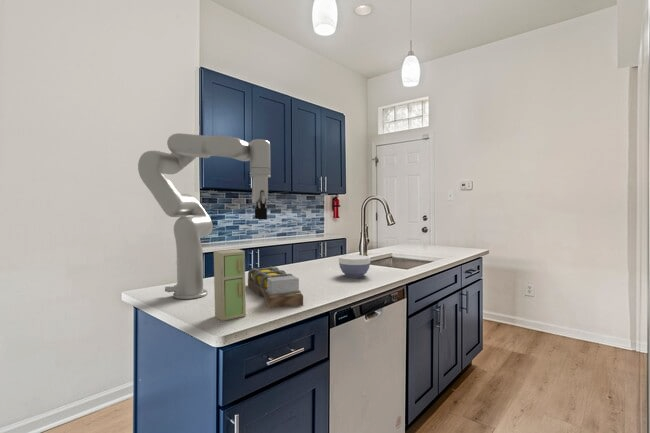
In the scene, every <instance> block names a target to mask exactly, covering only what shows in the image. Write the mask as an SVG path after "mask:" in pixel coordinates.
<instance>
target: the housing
mask: <svg viewBox="0 0 650 433" xmlns="http://www.w3.org/2000/svg"><path fill="white" fill-rule="evenodd" d="M299 280H300V278H299V277H297V276H296V275H293V276H282V277H271V278H267V290H266V292H267V293H268V294H269V295H271V296H273V295H282V294H291V293H299V292H301V290H300V285H299V283H300V281H299ZM301 293H302V292H301Z"/></svg>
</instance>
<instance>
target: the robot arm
mask: <svg viewBox="0 0 650 433" xmlns="http://www.w3.org/2000/svg"><path fill="white" fill-rule="evenodd" d="M166 143H167V144H166V145H167V148H168V150H169V151H170V153H169V152H168V153H167V152H164V151H160V150H148V151H145V152H143V153H142V154H141V156H139V158H138V159H139V160H138V162H137V170H138V171H137V172H138V175H139V177H140V180H141V181H142V182H143V184H144V185H145V186H146V188H147V189H148V190H149V192H150V193H151V194H152V195H153V197H154V200H156V202H157V203H158V205H159V206H160V208H161V209H162V211H163V212H164V213H165V214H166V215H167V216H168V217H170V218H177V220H175V222H174V224H173V234H174V239H175V246H176V247H175V248H176V284H175V285H173V286H171V285H170V286H164V292H167V293H173V294H172V297H173V298H174V299H177V300H192V299H193V300H194V299H198V298H203V297H205V296H207V295H208V290H207V289H205V288H204V255H203V254H204V253H203V246H202V241H201V239H202V238H205V237H208V236H209V235H210V234H211V233H212V232H213V228H214V227H213V221H212V219H211V217H210V216H209V214H208V213H207V212H206V210H205V208H204V207H203V206H202V204H201V203H200V201H199V200H198V199H197V198H195V196H193V195H191V194H189V193H181V192H180V191H178V190H177V188H176V187H175V185H174V183H172V181H171V180H170V179H169V178H168V177H166V175H175V174H178V173H179V172H181V171H182V170H183V169H184V168H185V167H187V166H188V165H190V163H192V162H193V161H194V160H196V158H200V159H201V158H203V159H208V158H209V159H210V158H211V157H223V158H228V159H229V158H230V159H235V160H237V161H241V162H249V174H250V175H249V177H250V178H252V184H251V185H252V188H251V190H252V192H251V203H252V204H254V205H255V207H254V218H255V219H258V220H268V208H267V203H268V201H269V200H268V199H269V184H268V183H269V180H268V179H270V178H271V177H272V176H271V142H270V141H269V140H266V139H262V138H261V139H260V138H256V139H252V140H250V142H249V141H246V140H243V139H241V138H238V137H234V136H227V135H217V134H216V135H214V134H213V135H202V134H201V135H200V134H190V133H183V132H181V133H179V132H178V133H177V132H176V133H173V134H172V135H169V137H168V139H167V141H166ZM164 174H165V175H164Z"/></svg>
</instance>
